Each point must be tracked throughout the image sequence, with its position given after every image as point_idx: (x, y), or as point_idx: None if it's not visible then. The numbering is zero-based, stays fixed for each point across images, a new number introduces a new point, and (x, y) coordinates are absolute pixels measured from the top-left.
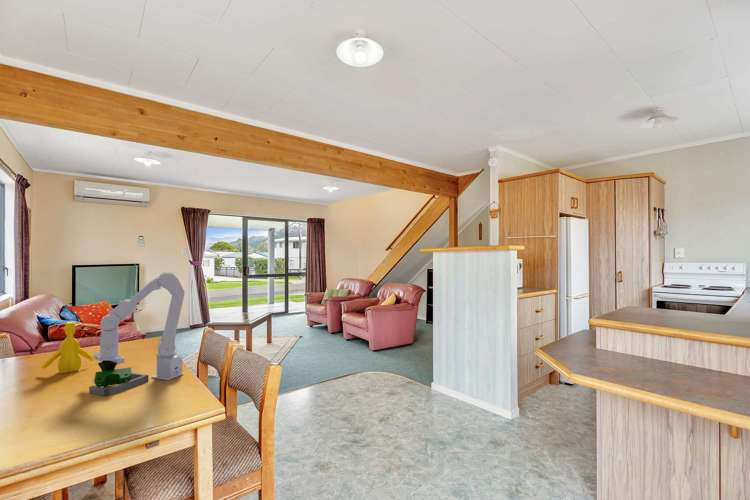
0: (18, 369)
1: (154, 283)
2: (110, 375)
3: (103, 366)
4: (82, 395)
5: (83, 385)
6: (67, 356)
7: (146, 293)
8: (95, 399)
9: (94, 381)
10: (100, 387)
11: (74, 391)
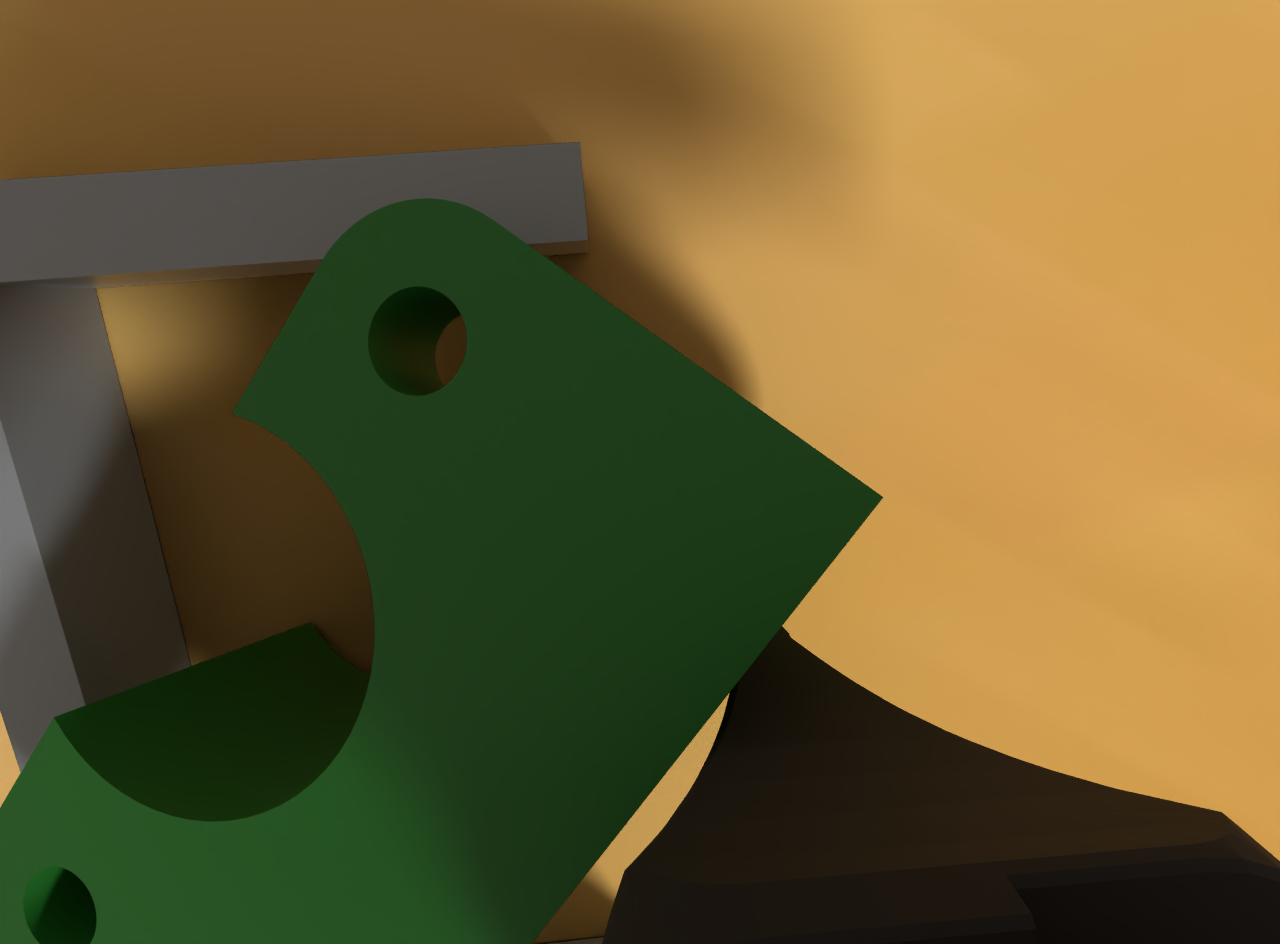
0: None
1: None
2: (385, 672)
3: (792, 830)
4: (595, 38)
5: (1173, 399)
6: None
7: None
8: (42, 11)
9: (457, 210)
10: (223, 242)
11: (1015, 112)
